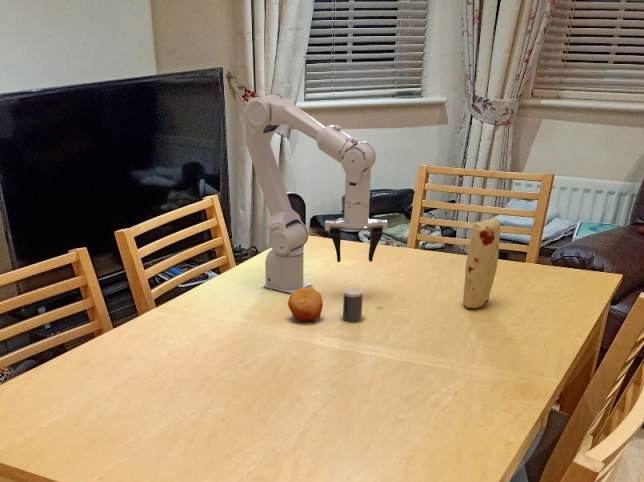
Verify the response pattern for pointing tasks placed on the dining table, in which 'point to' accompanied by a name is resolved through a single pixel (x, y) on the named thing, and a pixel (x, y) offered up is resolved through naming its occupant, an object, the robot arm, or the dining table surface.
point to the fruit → (305, 304)
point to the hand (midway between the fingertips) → (354, 260)
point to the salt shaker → (352, 305)
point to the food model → (481, 262)
